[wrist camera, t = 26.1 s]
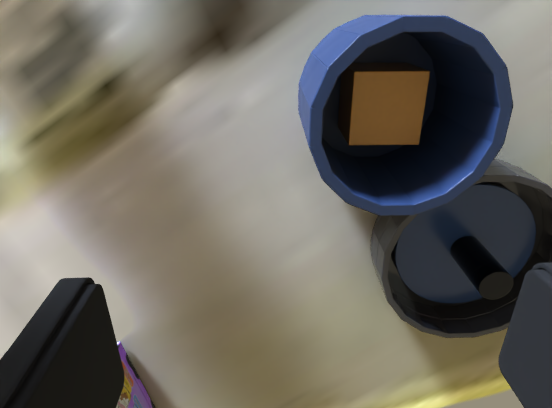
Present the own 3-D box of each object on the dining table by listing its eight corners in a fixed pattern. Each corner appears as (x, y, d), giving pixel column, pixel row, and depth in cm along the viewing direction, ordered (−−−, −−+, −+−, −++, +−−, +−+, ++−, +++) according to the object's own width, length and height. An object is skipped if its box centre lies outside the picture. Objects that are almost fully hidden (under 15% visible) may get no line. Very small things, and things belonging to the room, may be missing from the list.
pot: (299, 15, 27) (313, 16, 18) (456, 14, 27) (536, 15, 19) (296, 164, 31) (306, 216, 23) (430, 162, 31) (487, 214, 23)
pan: (380, 157, 31) (394, 176, 27) (568, 155, 31) (607, 174, 27) (363, 307, 37) (373, 339, 33) (519, 305, 37) (546, 336, 34)
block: (341, 62, 27) (354, 71, 23) (406, 62, 28) (430, 70, 23) (337, 127, 29) (348, 145, 25) (398, 127, 29) (419, 145, 25)
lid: (400, 179, 31) (429, 215, 26) (545, 178, 31) (603, 213, 26) (384, 296, 36) (405, 347, 30) (509, 295, 36) (552, 345, 31)
